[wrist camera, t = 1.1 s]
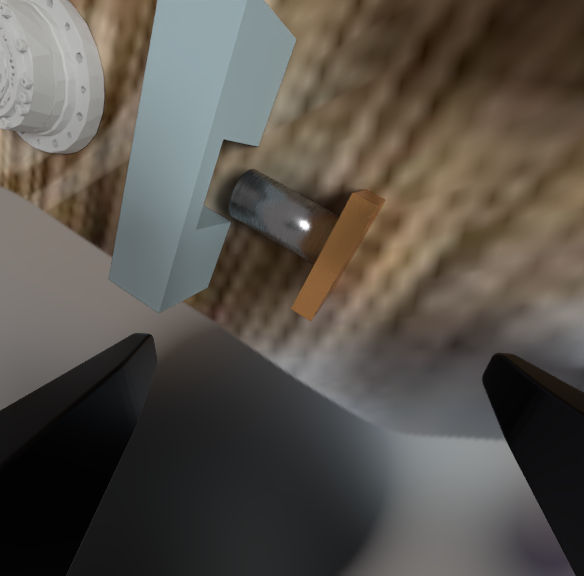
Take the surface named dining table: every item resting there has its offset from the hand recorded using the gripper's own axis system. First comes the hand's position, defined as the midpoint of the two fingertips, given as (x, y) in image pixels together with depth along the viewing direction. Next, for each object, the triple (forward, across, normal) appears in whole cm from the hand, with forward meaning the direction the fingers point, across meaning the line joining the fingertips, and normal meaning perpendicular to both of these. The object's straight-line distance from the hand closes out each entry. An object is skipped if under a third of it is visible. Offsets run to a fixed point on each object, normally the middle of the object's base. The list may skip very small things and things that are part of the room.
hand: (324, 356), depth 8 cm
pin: (+12, 0, 0) cm, 12 cm away
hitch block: (+15, +6, -2) cm, 16 cm away
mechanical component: (+21, +18, -7) cm, 28 cm away
